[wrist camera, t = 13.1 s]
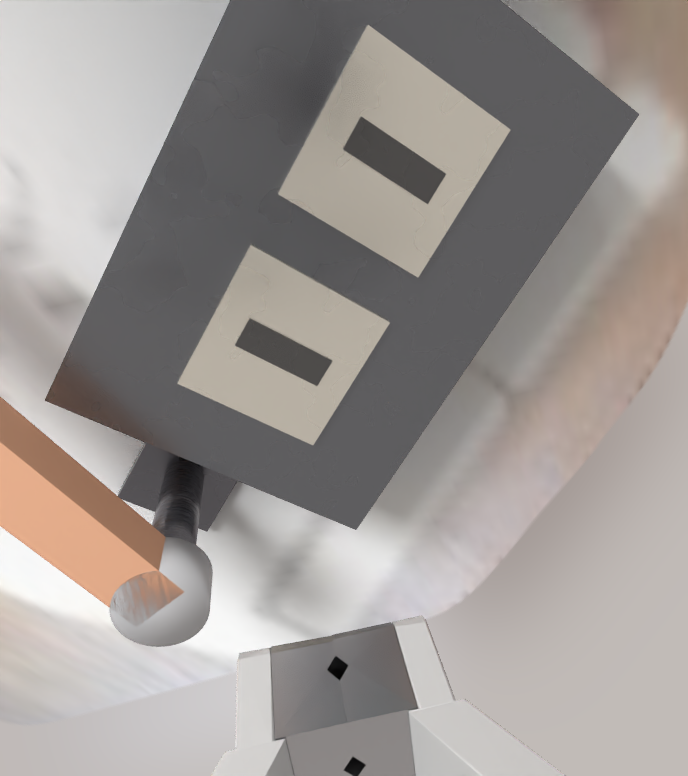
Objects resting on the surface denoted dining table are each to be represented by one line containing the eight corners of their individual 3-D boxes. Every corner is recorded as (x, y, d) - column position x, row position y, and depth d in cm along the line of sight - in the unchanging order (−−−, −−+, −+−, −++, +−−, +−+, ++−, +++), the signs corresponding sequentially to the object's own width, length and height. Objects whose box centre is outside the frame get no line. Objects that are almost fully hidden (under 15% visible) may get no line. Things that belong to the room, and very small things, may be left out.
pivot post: (119, 491, 32) (83, 594, 24) (160, 413, 30) (134, 499, 23) (207, 524, 33) (197, 630, 26) (250, 452, 32) (251, 544, 25)
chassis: (83, 348, 28) (41, 404, 23) (291, -92, 23) (306, -166, 17) (337, 463, 33) (357, 534, 27) (561, 117, 27) (645, 114, 22)
